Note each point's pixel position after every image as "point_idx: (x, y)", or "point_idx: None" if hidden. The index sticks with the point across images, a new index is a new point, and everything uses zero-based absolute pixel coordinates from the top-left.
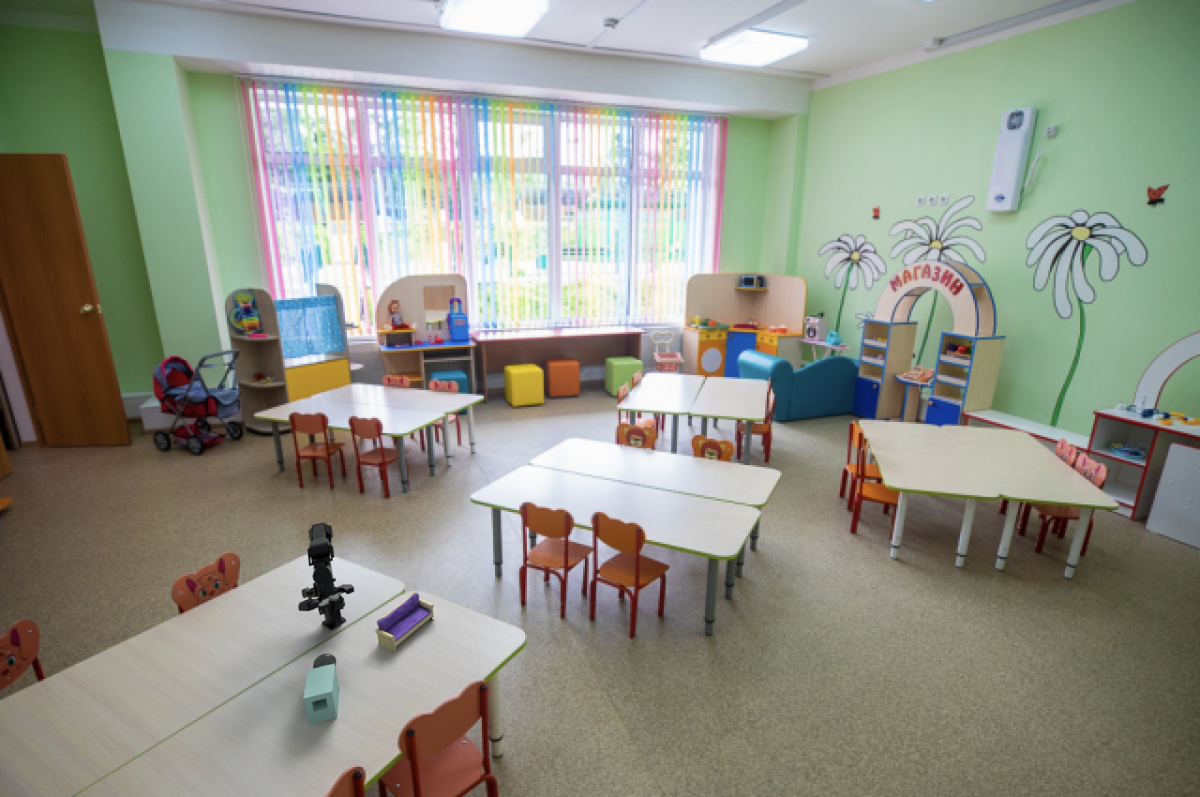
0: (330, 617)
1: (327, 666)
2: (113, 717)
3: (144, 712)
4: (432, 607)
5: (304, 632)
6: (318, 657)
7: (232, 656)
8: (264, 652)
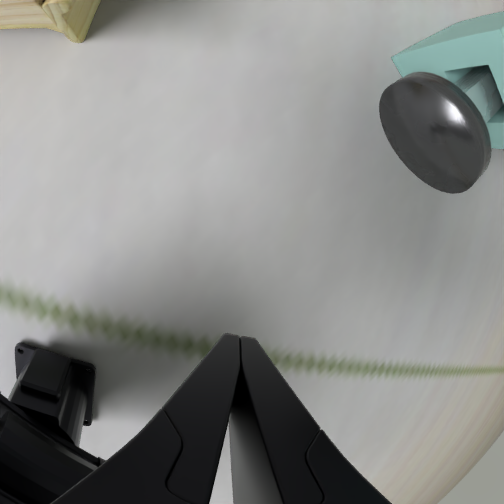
0: (273, 374)
1: None
2: (448, 463)
3: (448, 448)
4: None
5: None
6: (485, 160)
7: None
8: None
